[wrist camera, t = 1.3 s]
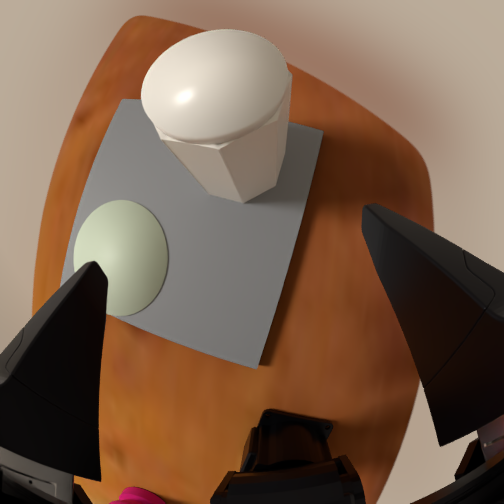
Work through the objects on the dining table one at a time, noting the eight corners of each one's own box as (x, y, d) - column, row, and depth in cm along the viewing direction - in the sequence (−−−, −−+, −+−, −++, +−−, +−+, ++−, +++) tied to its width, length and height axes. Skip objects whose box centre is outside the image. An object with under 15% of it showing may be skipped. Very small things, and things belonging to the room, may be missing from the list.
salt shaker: (291, 133, 21) (301, 39, 10) (268, 210, 21) (265, 153, 10) (212, 117, 22) (175, 27, 11) (186, 189, 22) (118, 128, 11)
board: (321, 136, 22) (324, 130, 21) (257, 365, 21) (256, 369, 20) (126, 103, 24) (121, 98, 22) (66, 288, 23) (58, 289, 22)
